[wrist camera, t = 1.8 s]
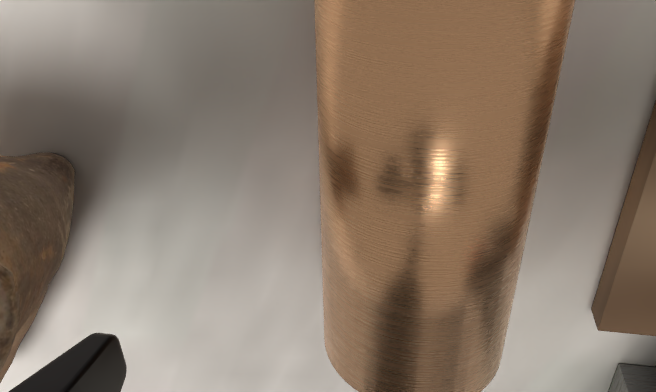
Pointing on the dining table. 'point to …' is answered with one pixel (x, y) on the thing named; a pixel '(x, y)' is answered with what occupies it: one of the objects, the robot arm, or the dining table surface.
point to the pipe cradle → (633, 253)
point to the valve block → (634, 379)
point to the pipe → (30, 239)
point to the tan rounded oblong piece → (429, 180)
